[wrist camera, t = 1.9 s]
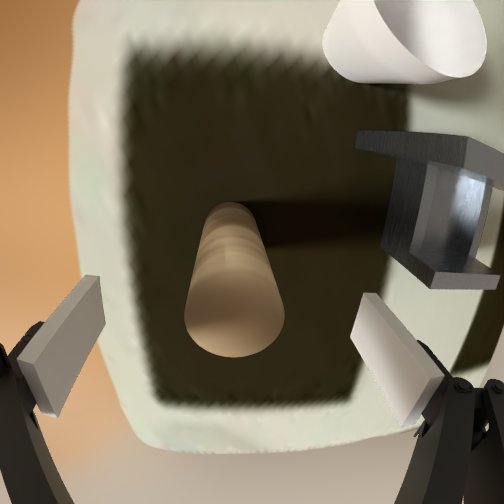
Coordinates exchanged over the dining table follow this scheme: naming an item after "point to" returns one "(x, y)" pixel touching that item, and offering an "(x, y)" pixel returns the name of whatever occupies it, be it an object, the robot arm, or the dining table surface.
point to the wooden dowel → (233, 287)
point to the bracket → (438, 204)
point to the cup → (405, 40)
